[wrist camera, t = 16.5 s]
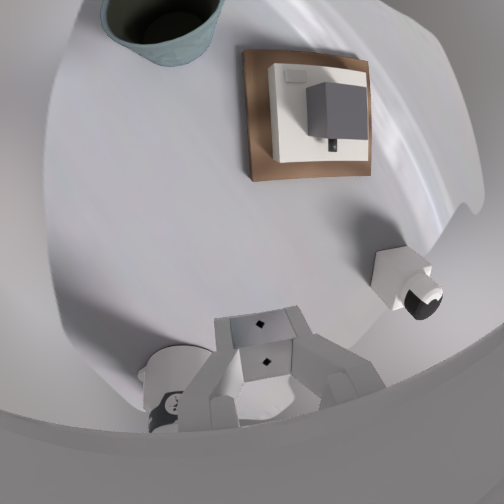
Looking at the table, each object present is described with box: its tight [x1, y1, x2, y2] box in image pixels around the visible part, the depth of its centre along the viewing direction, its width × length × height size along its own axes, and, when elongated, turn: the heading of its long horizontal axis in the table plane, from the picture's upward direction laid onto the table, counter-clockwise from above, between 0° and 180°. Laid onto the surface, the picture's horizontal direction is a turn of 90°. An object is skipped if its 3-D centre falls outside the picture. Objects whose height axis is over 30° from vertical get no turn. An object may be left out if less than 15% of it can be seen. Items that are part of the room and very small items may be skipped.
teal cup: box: [100, 0, 225, 67], centre depth 17 cm, size 10×10×12 cm
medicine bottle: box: [371, 246, 443, 320], centre depth 37 cm, size 7×7×12 cm
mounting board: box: [242, 50, 372, 182], centre depth 29 cm, size 16×16×2 cm
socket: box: [268, 63, 368, 163], centre depth 27 cm, size 11×11×4 cm
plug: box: [306, 82, 368, 152], centre depth 24 cm, size 7×4×6 cm, turn 4°
